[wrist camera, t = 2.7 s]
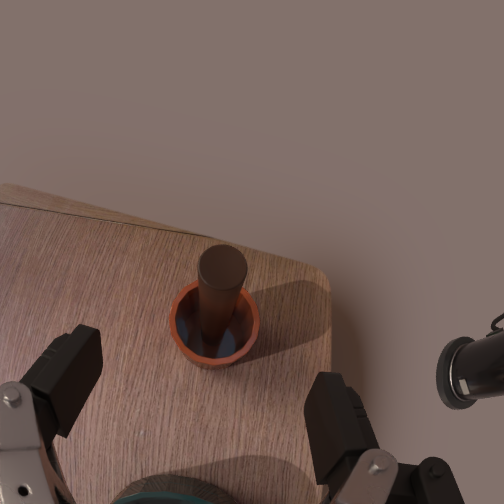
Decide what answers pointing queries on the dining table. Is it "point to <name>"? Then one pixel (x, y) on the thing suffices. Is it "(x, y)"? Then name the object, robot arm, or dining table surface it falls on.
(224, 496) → the mixing bowl
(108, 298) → the dining table surface
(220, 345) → the utensil cup
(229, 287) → the stirring stick
